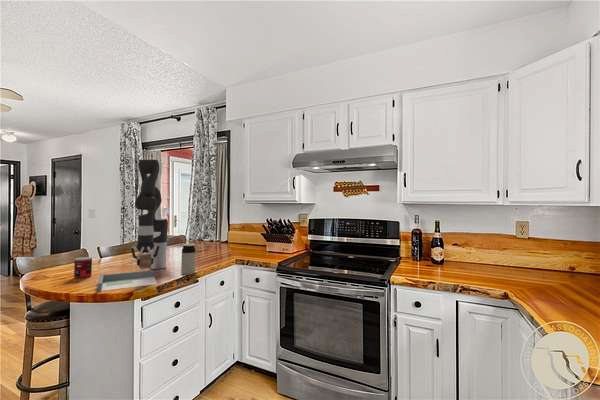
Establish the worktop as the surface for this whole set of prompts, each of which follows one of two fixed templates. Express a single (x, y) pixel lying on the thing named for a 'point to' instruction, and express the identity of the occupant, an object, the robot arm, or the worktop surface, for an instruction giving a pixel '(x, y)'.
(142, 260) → the walnut block
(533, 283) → the worktop surface
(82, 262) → the canned food
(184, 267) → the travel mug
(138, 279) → the tray
